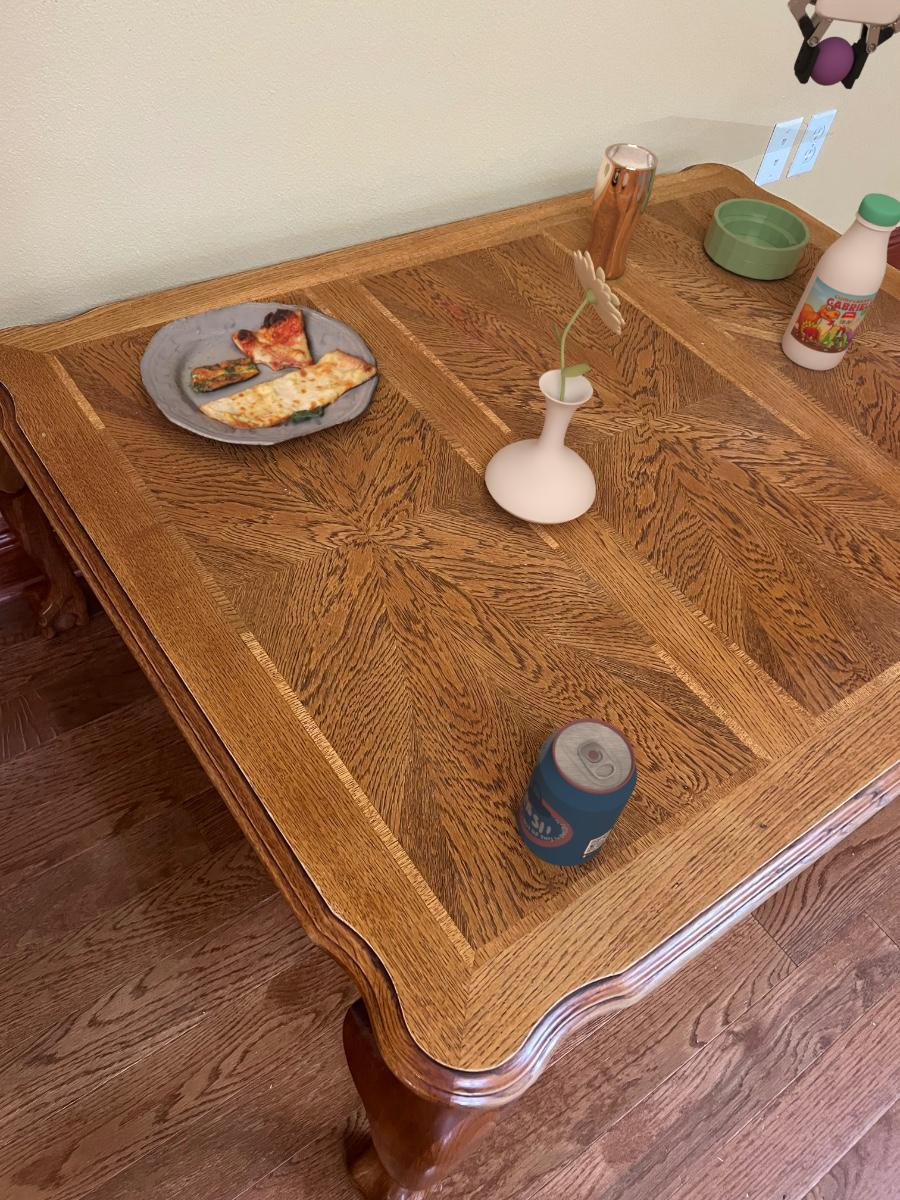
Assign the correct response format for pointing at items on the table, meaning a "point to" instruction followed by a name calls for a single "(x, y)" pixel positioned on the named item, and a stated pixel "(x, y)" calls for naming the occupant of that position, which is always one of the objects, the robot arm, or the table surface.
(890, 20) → the robot arm
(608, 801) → the soda can
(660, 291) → the table surface
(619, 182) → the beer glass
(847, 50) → the ball
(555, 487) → the flower in vase
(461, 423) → the table surface
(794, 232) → the bowl
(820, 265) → the milk bottle
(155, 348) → the food plate
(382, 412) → the table surface
